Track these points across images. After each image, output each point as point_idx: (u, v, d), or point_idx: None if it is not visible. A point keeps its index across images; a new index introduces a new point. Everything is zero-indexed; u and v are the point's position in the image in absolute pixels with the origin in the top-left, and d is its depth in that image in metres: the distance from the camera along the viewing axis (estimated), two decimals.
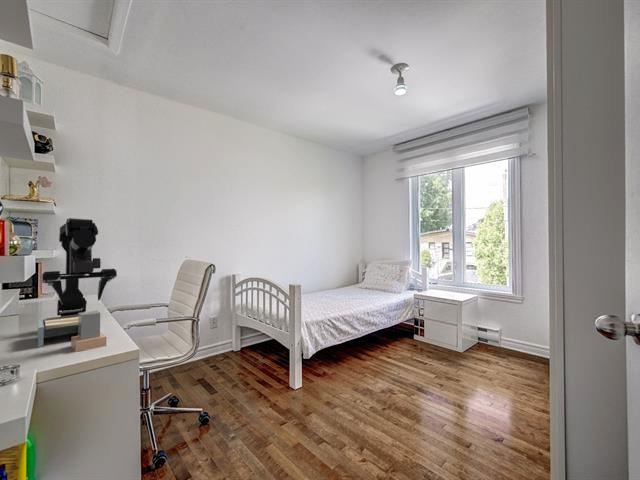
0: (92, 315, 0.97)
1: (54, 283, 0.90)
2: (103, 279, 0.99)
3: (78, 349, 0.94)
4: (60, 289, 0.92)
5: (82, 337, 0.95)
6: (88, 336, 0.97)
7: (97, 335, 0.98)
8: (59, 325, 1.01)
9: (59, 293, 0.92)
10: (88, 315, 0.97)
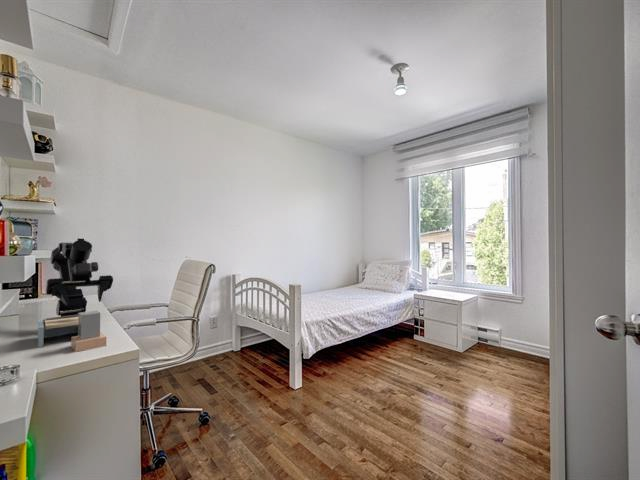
0: (92, 315, 0.97)
1: (58, 286, 1.01)
2: (101, 282, 1.10)
3: (78, 349, 0.94)
4: (64, 292, 1.02)
5: (82, 337, 0.95)
6: (88, 336, 0.97)
7: (97, 335, 0.98)
8: (59, 325, 1.01)
9: (63, 295, 1.01)
10: (88, 315, 0.97)
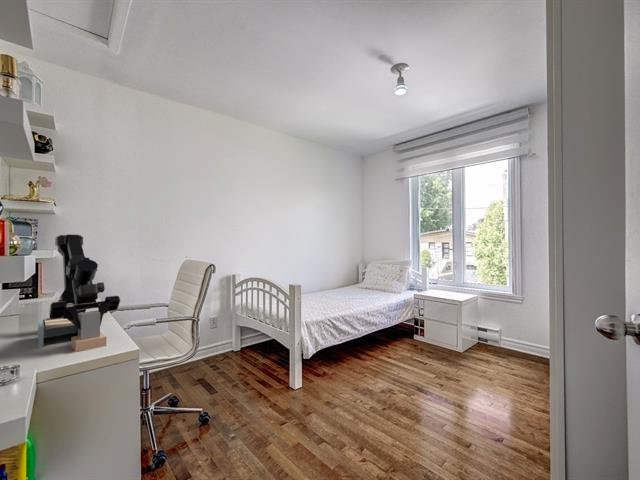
0: (92, 315, 0.97)
1: (70, 309, 0.96)
2: (101, 304, 1.02)
3: (78, 349, 0.94)
4: (76, 315, 0.97)
5: (82, 337, 0.95)
6: (88, 336, 0.97)
7: (97, 335, 0.98)
8: (59, 325, 1.01)
9: (75, 318, 0.96)
10: (88, 315, 0.97)
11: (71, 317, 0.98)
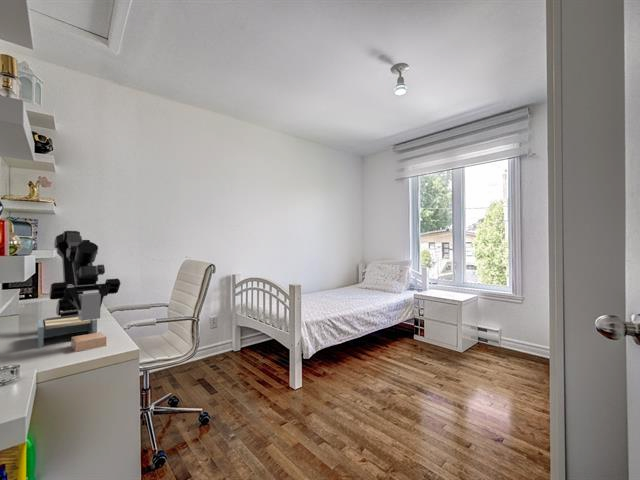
0: (92, 296, 0.98)
1: (70, 290, 0.96)
2: (102, 286, 1.03)
3: (78, 349, 0.94)
4: (76, 296, 0.97)
5: (82, 318, 0.96)
6: (88, 317, 0.97)
7: (97, 316, 0.99)
8: (59, 325, 1.01)
9: (76, 299, 0.96)
10: (88, 296, 0.97)
11: (71, 298, 0.98)
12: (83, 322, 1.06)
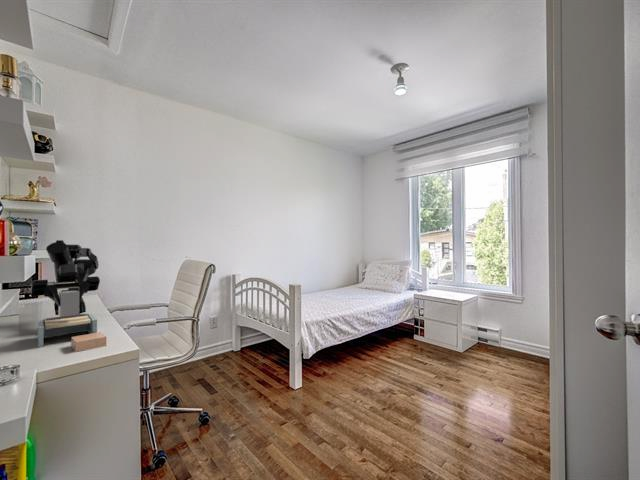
0: (71, 293, 1.04)
1: (50, 287, 1.02)
2: (81, 284, 1.09)
3: (78, 349, 0.94)
4: (56, 293, 1.03)
5: (62, 314, 1.02)
6: (67, 313, 1.03)
7: (76, 312, 1.05)
8: (59, 325, 1.01)
9: (56, 296, 1.02)
10: (67, 293, 1.03)
11: (52, 295, 1.04)
12: (83, 322, 1.06)
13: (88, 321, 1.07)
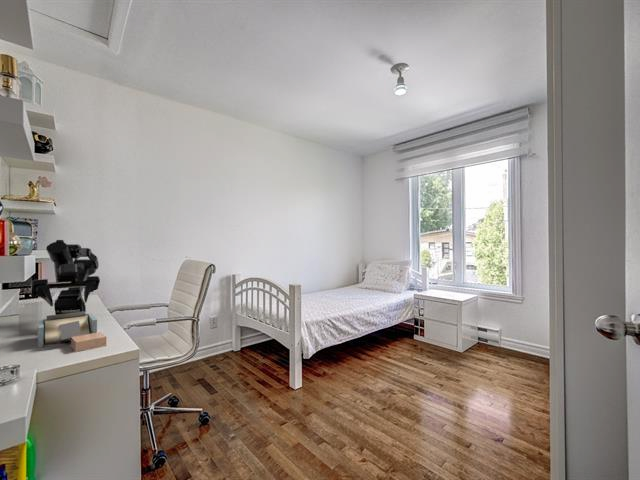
0: None
1: (43, 287, 1.01)
2: (88, 283, 1.10)
3: (78, 349, 0.94)
4: (49, 293, 1.02)
5: None
6: (67, 339, 1.03)
7: None
8: (58, 340, 1.02)
9: (48, 296, 1.01)
10: (68, 338, 0.98)
11: (44, 295, 1.03)
12: None
13: None
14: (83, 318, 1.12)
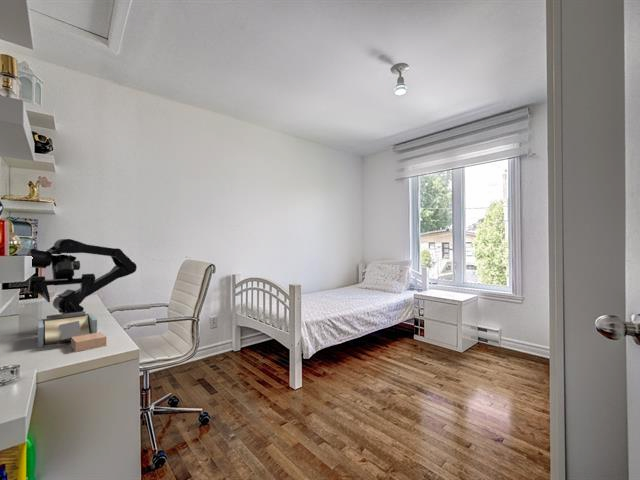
0: None
1: (40, 284, 1.06)
2: (83, 280, 1.15)
3: (78, 349, 0.94)
4: (46, 289, 1.06)
5: None
6: (67, 339, 1.03)
7: None
8: (58, 340, 1.02)
9: (45, 292, 1.06)
10: (68, 338, 0.98)
11: (42, 291, 1.07)
12: None
13: None
14: (83, 318, 1.12)
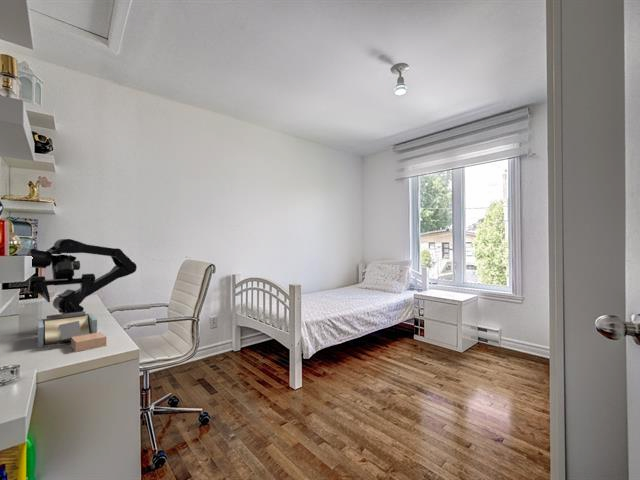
0: None
1: (40, 284, 1.06)
2: (83, 280, 1.15)
3: (78, 349, 0.94)
4: (46, 289, 1.06)
5: None
6: (67, 339, 1.03)
7: None
8: (58, 340, 1.02)
9: (45, 292, 1.06)
10: (68, 338, 0.98)
11: (42, 291, 1.07)
12: None
13: None
14: (83, 318, 1.12)
